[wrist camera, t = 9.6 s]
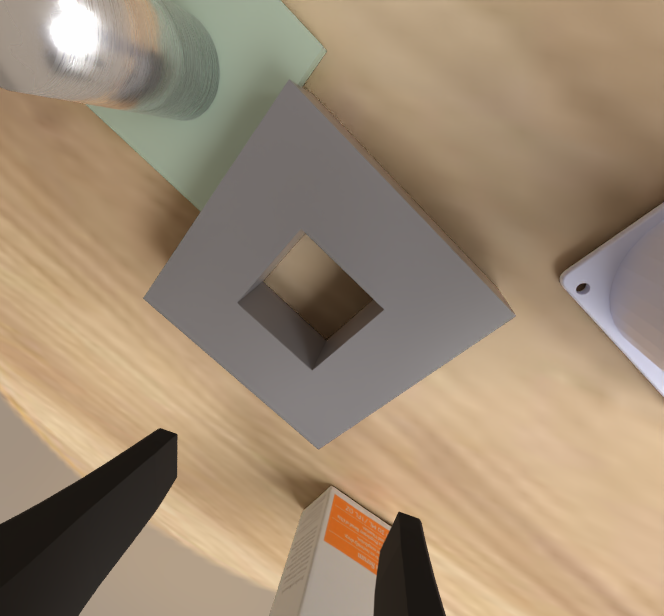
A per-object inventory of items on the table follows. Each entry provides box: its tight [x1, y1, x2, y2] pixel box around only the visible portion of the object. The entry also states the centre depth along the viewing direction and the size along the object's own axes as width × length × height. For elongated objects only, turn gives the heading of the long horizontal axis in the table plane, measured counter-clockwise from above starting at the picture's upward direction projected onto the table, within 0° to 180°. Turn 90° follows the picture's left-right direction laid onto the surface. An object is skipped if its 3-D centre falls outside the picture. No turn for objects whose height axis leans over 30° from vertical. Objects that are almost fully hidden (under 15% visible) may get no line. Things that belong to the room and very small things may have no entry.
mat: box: [85, 0, 327, 211], centre depth 15 cm, size 9×9×1 cm
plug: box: [0, 0, 220, 121], centre depth 11 cm, size 4×4×7 cm
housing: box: [143, 79, 516, 450], centre depth 16 cm, size 12×12×3 cm
